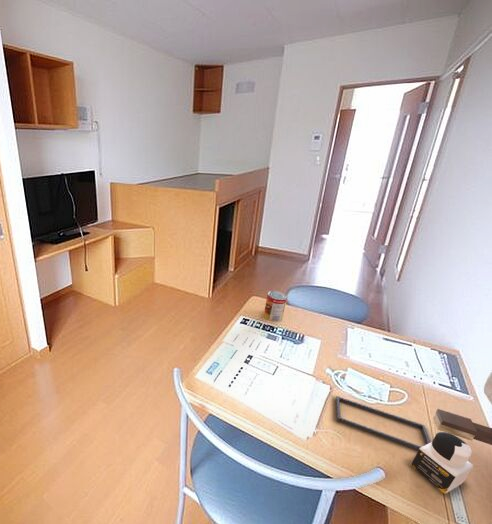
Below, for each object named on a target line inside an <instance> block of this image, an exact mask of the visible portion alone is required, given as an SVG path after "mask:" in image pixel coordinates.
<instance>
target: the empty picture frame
mask: <svg viewBox="0 0 492 524" xmlns="http://www.w3.org/2000/svg"><path fill="white" fill-rule="evenodd" d="M340 403H343V404H346V405H349V406H351V407H355V408H358V409H361V410H362V411H363V410H364V411H367V412H369V413H372V414H375V415H378V416H381V417H384V418H386V419H389V420H393V421H395V422H398V423H402V424H404V425H407V426H410V427H413V428H416V429H419V430H420V431H421V434H422V437H423V440H424V444H425V445H427V444H428V443H430V442H431V439H430V437H429V434H428V432H427V429H426V426H425V424H422V423H418V422H416V421H412V420H409V419H406V418H404V417H401V416H398V415H395V414H391V413H389V412H386V411H383V410H380V409H377V408H374V407H371V406H368V405H365V404H361V403H359V402H356V401H352V400H350V399H347V398H344V397H341V396H338V395H336V397H335V409H336V410H335V411H336V413H335V414H336V422H338V423H340V424H344V425H346V426H349V427H352V428H355V429H356V430H357V429H358V430H360V431H363V432H366V433H368V434H371V435H374V436H376V437H379V438H381V439H384V440H388V441H390V442H393V443H396V444H398V445H401V446H404V447H406V448H410V449H412V450H415V451H417V452H418V450H419V449H420V448H421V447H422V446H420V445H418V444H415V443H412V442H410V441H407V440H404V439H401V438H398V437H396V436H393V435H391V434H388V433H386V432H382V431H379V430H377V429H374V428H371V427H368V426H366V425H362V424H360V423H358V422H354V421H351V420H349V419H346V418H343V417H341V408H340V406H341V405H340Z"/></svg>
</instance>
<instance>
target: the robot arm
mask: <svg viewBox="0 0 492 524" xmlns="http://www.w3.org/2000/svg"><path fill="white" fill-rule="evenodd" d="M483 393H484V395H485V397H486V398H487V399H488V402H490V404H491V405H492V371H491V372H490V373H489V375H488V376H487V378H486V380H485V383H484V385H483Z"/></svg>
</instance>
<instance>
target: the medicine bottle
mask: <svg viewBox="0 0 492 524" xmlns="http://www.w3.org/2000/svg"><path fill="white" fill-rule="evenodd" d="M472 455H473V452H472V449H471V447H470V446H469V444H468V443H467V442H465V441H464V440H463V439H461V437H459V436H456V435H453V434H450V433H447V432H444V431H439V432H437V433H436V434H435V435H434V438H433V439H432V441H430V443H428V444H427V445H426V444H425V445H422V446H421V448H420V449H419V450H418V451H417V452H416V454H415V456H414V458H413V460H412V462H411V464H410V467H411V468H412V469H414V470H415V471H416V472H417V473H419V474H420V475H421V476H422V477H423V478H425V479H426V480H427V481H428V482H429V483H431V484H432V485H433V486H434V487H435V488H437V489H438V490H439V491H440V492H441V493H443V494H444V495H447V494H448V493H449V492H451V491H452V490H454V489H456V488H457V487H459V486H460V485H462V484H463V483H464V481H465V480H466V479H467V477H468V475H469V474H470V472H471V471H472V469H473V468H474V464H473V463H471V462H470V461H469V460H470V458H471V456H472Z"/></svg>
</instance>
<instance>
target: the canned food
mask: <svg viewBox="0 0 492 524" xmlns="http://www.w3.org/2000/svg"><path fill="white" fill-rule="evenodd" d="M287 301H288V296H287V294H286V293H284V292H282V291H278V290H271V291H268V292H267V296H266V301H265V305H264V311H263V317H264V319H266V320H268V321H270V322H275V323H276V322H277V323H278V322H282V320H283V317H284V313H285V309H286V305H287Z"/></svg>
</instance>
